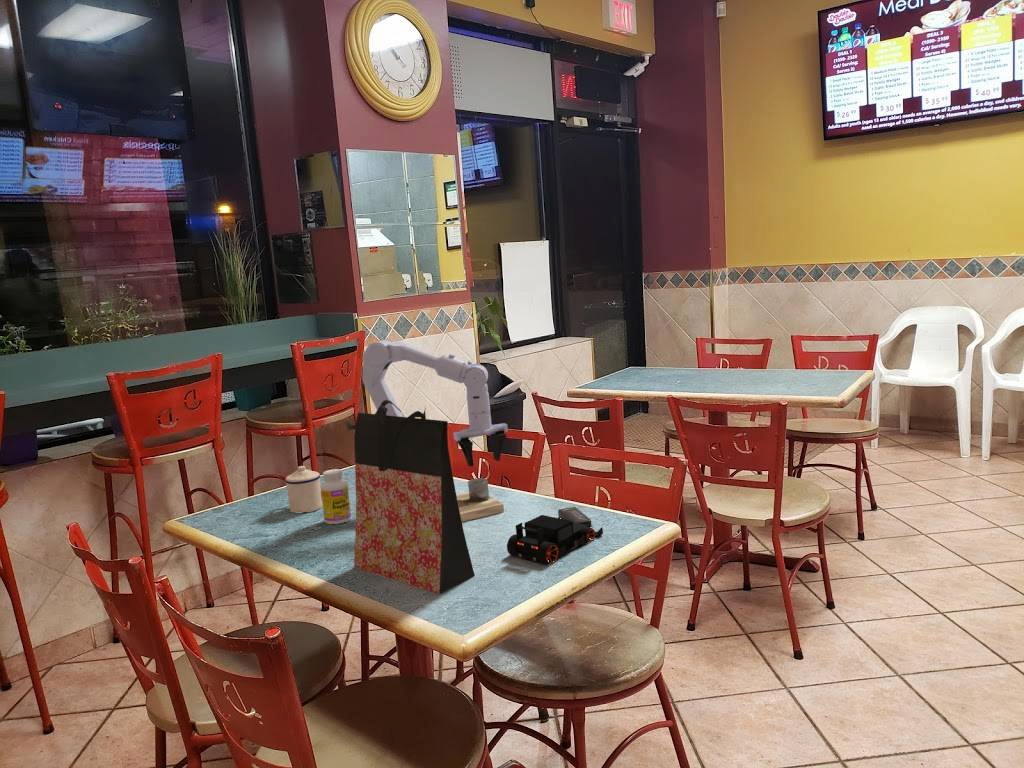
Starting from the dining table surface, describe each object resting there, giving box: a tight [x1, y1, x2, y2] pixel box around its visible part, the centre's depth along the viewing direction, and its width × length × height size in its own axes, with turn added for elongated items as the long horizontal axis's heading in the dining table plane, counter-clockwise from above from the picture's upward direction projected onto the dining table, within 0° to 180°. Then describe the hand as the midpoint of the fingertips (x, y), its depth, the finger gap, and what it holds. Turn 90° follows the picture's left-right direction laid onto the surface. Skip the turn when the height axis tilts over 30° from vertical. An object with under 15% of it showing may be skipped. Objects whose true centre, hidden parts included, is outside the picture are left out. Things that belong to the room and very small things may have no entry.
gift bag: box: [345, 400, 476, 595], centre depth 154 cm, size 29×14×35 cm, turn 49°
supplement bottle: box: [320, 468, 352, 525], centre depth 192 cm, size 7×7×13 cm
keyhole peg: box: [467, 477, 490, 502], centre depth 194 cm, size 5×5×7 cm
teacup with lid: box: [284, 465, 323, 513], centre depth 205 cm, size 12×9×12 cm
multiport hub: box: [557, 506, 593, 528], centre depth 176 cm, size 4×11×2 cm, turn 15°
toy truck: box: [506, 514, 604, 565], centre depth 162 cm, size 10×20×7 cm, turn 138°
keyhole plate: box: [456, 490, 505, 523], centre depth 192 cm, size 16×15×2 cm
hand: (483, 462), depth 198 cm, fingers open, 7 cm apart
